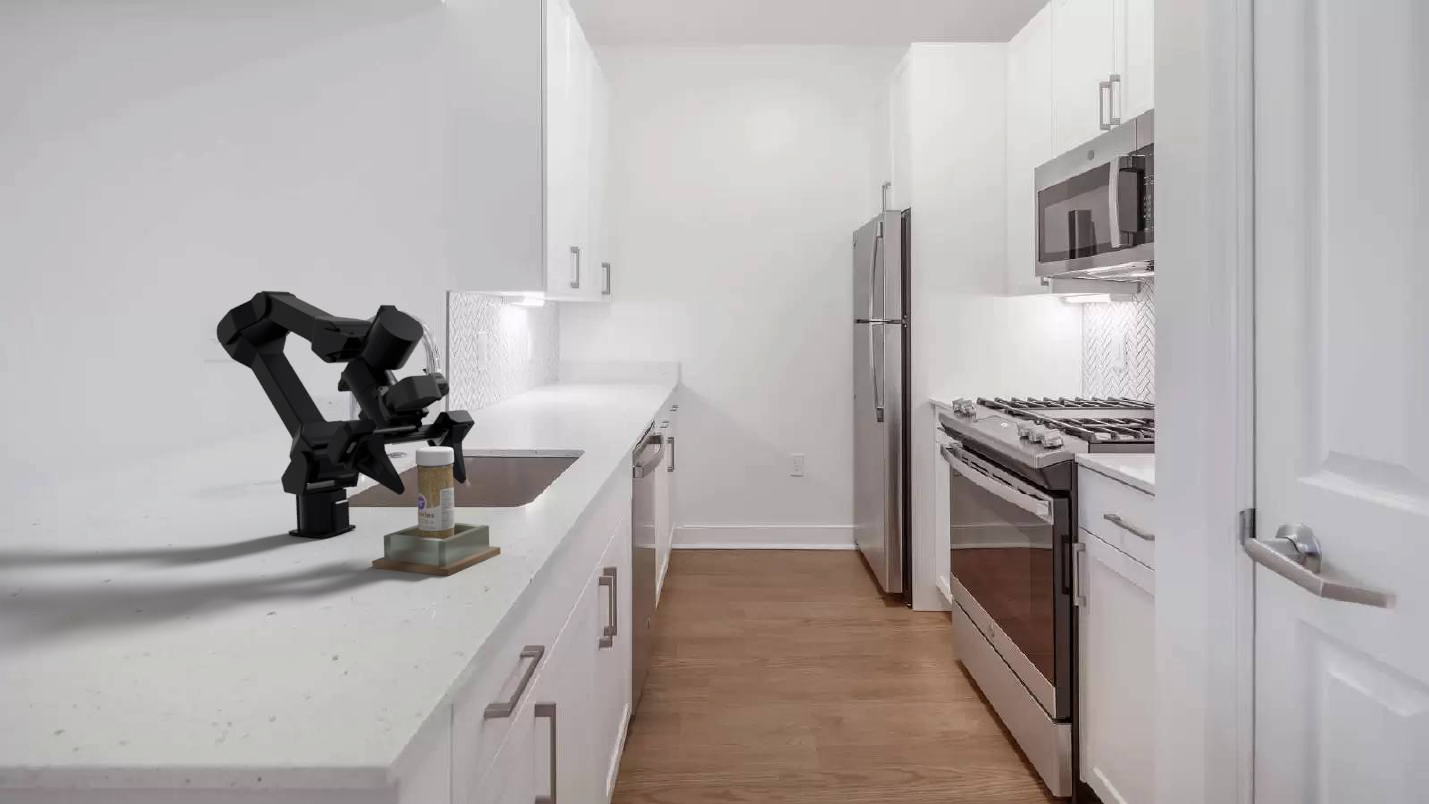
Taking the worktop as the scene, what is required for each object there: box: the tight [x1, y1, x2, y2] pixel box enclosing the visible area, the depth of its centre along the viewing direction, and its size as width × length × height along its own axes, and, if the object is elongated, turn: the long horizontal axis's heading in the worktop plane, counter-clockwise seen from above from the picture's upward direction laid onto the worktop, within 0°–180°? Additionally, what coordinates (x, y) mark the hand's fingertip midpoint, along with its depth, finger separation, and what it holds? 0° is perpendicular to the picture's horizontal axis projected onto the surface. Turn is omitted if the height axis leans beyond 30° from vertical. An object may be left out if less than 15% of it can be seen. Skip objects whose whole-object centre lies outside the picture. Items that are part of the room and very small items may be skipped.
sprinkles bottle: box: [415, 446, 456, 539], centre depth 109 cm, size 5×5×14 cm
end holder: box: [371, 522, 501, 577], centre depth 109 cm, size 11×11×4 cm
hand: (434, 486), depth 109 cm, fingers open, 9 cm apart
